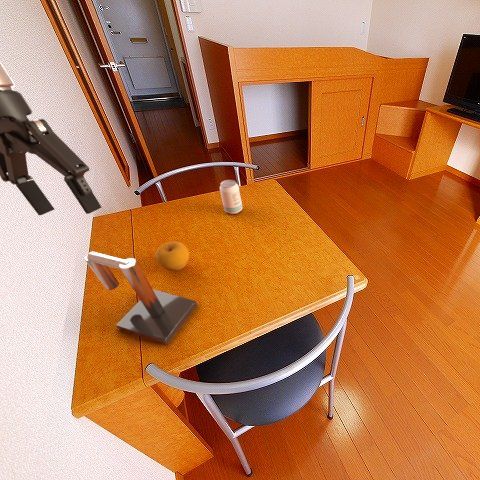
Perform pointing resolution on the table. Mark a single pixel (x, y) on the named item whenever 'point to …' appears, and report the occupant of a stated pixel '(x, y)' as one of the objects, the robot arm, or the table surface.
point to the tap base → (158, 318)
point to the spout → (132, 274)
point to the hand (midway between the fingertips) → (69, 211)
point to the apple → (172, 255)
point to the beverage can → (231, 196)
